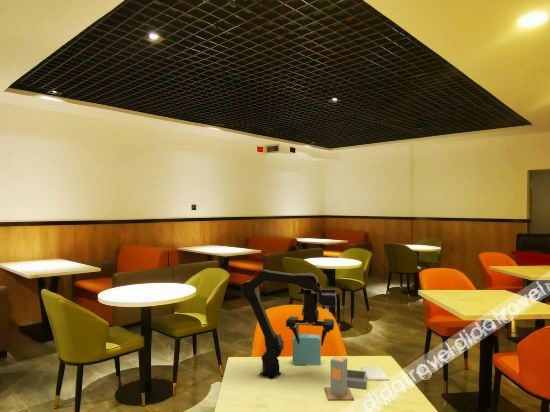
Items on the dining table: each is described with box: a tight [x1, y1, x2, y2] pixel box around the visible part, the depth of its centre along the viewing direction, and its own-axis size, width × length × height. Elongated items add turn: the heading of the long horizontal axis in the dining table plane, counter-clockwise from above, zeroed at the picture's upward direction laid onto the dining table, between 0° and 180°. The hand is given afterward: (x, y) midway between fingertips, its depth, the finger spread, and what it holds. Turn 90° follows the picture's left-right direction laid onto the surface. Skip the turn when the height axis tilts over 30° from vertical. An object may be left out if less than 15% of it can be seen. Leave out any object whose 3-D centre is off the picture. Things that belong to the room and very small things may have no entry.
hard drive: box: [360, 366, 390, 382], centre depth 157 cm, size 2×8×12 cm
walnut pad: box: [323, 386, 355, 402], centre depth 139 cm, size 9×9×1 cm
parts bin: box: [347, 369, 367, 390], centre depth 149 cm, size 10×10×3 cm
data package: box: [292, 333, 322, 367], centre depth 169 cm, size 12×4×12 cm, turn 86°
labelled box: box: [330, 355, 348, 397], centre depth 139 cm, size 4×5×12 cm
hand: (310, 344), depth 154 cm, fingers open, 9 cm apart
